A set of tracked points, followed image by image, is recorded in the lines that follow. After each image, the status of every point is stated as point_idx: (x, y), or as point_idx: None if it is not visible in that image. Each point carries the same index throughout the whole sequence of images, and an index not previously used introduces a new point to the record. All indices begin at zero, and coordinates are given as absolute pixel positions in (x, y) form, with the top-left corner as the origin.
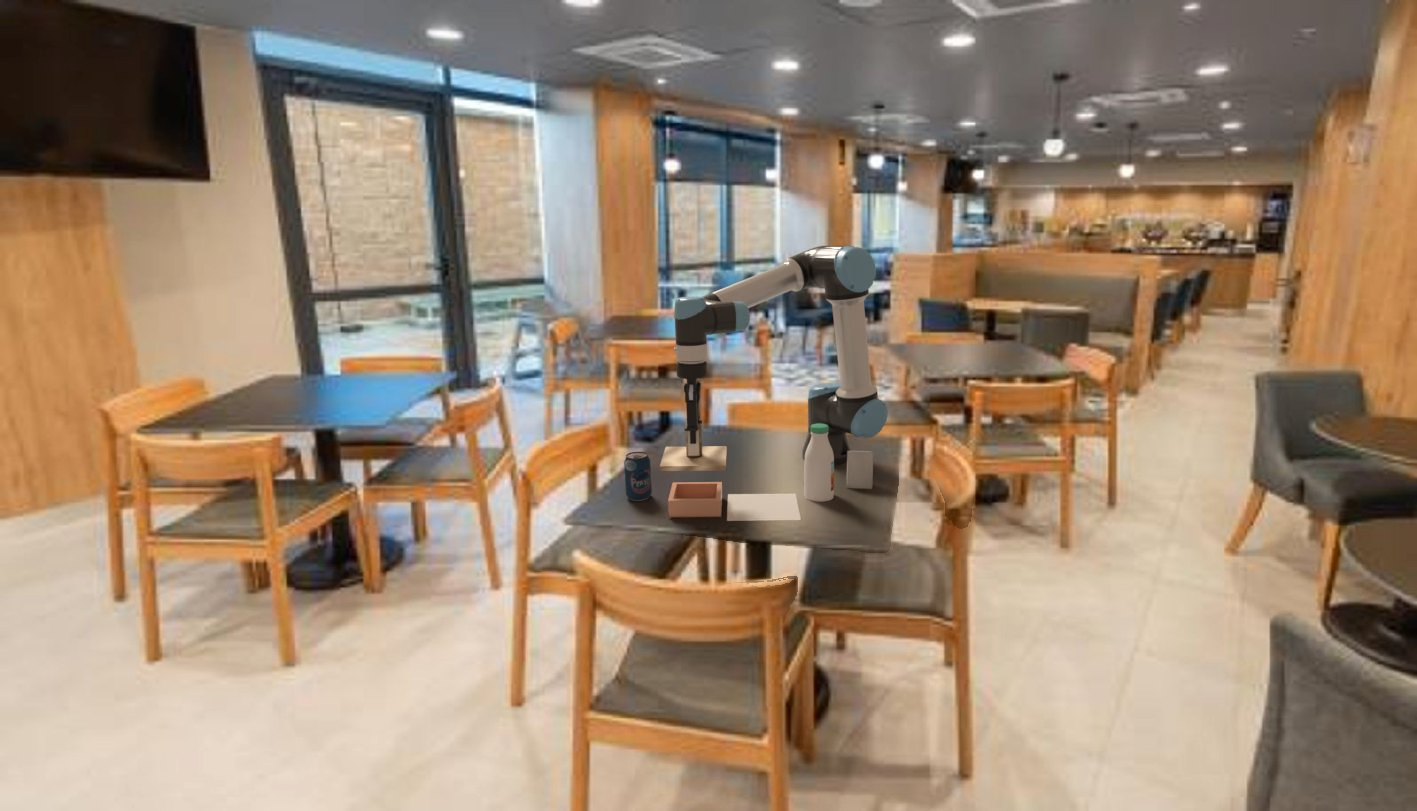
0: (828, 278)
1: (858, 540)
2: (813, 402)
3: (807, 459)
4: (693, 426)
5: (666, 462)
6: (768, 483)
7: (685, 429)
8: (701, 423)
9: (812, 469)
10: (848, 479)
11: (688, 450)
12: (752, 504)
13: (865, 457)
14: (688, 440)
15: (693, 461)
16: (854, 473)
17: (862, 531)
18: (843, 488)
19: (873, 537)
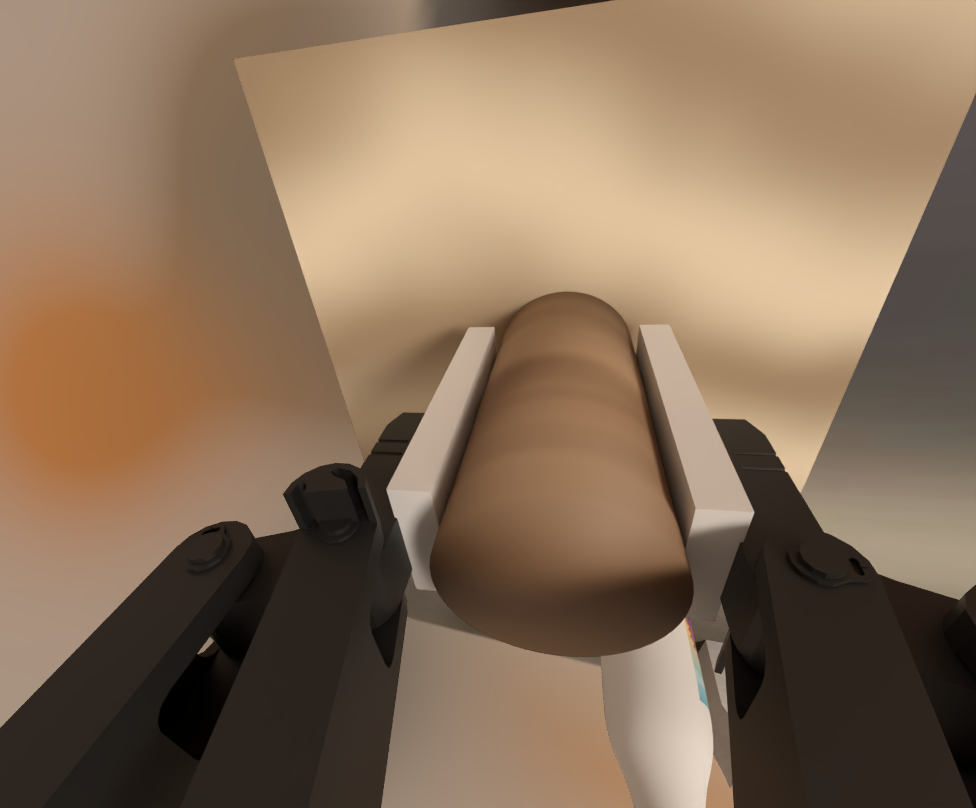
0: None
1: None
2: None
3: (634, 697)
4: (211, 635)
5: (360, 116)
6: (819, 496)
7: (294, 495)
8: (720, 651)
9: (611, 668)
10: (710, 666)
11: (459, 351)
12: None
13: (726, 758)
14: (429, 409)
15: (425, 355)
16: (710, 692)
17: (437, 606)
18: (703, 634)
19: (412, 612)
